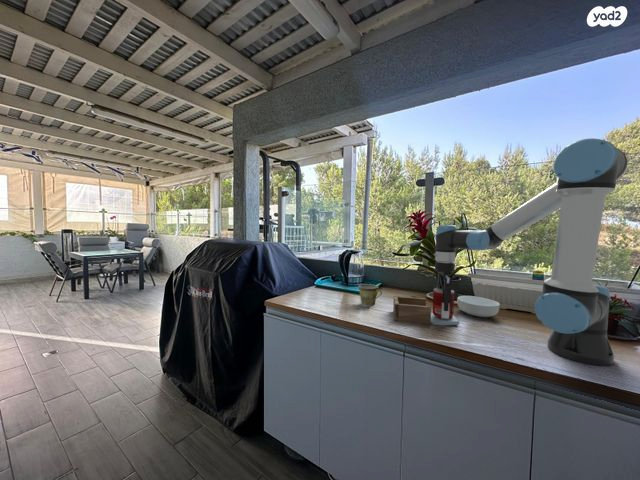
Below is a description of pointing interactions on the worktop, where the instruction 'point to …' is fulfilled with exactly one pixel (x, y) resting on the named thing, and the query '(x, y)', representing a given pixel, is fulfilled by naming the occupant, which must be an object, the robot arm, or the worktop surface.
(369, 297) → the ceramic cup
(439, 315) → the canned food
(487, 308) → the cereal bowl
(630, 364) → the worktop surface
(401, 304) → the crate
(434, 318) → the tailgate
